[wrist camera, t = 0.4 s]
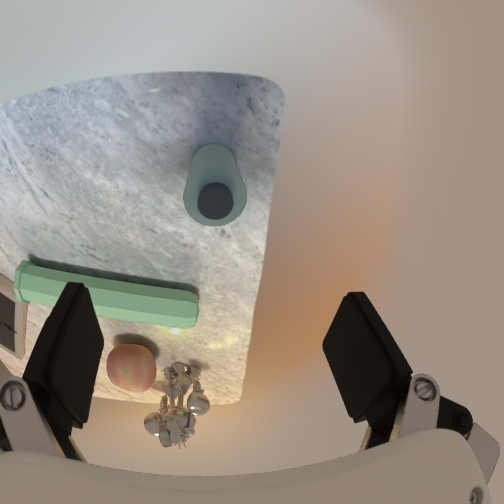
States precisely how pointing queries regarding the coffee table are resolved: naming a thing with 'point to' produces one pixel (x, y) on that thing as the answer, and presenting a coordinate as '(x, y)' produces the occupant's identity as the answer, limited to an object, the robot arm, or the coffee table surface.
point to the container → (110, 296)
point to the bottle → (214, 187)
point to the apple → (131, 367)
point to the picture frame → (12, 319)
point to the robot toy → (178, 406)
